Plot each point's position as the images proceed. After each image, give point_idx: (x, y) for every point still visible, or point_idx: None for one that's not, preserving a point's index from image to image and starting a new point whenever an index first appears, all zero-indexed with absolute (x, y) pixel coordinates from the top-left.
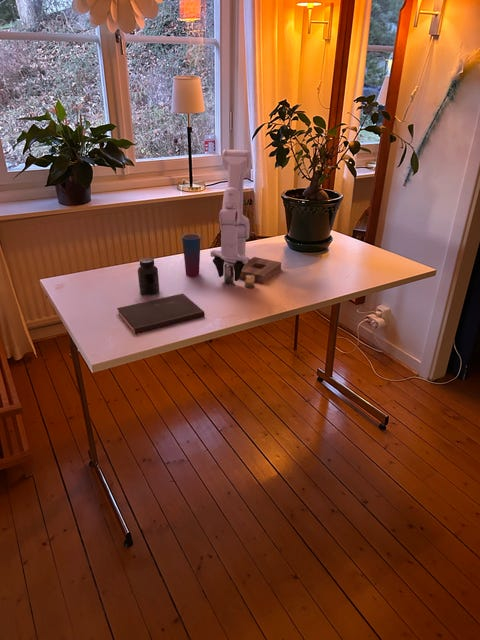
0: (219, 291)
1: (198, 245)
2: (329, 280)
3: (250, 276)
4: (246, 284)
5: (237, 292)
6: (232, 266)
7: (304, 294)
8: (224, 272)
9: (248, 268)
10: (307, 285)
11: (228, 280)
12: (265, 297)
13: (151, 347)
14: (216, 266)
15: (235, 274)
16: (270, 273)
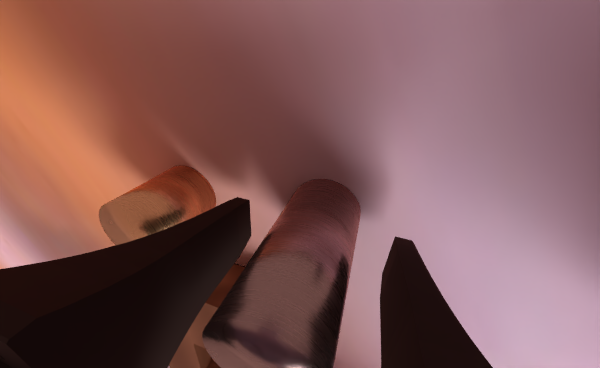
0: (330, 4)
1: None
2: None
3: (127, 236)
4: (172, 179)
5: (191, 71)
6: (202, 333)
7: (7, 182)
8: (337, 268)
9: None
10: (62, 253)
11: (303, 199)
12: (43, 80)
13: None
14: (474, 364)
15: (193, 225)
16: None
